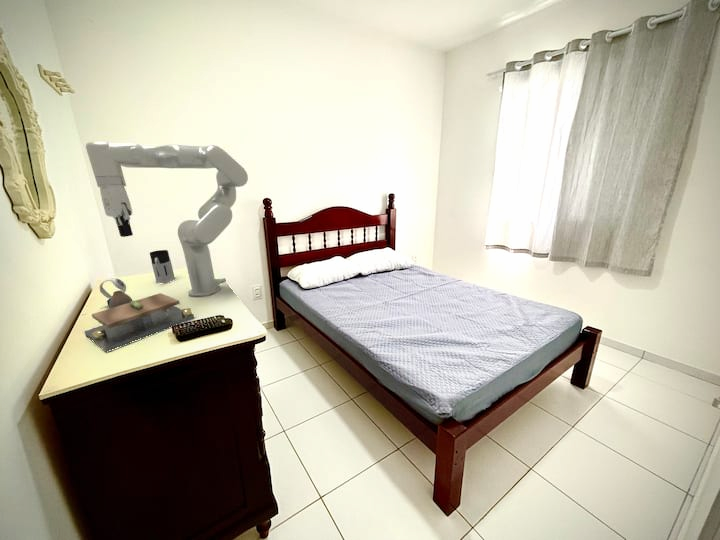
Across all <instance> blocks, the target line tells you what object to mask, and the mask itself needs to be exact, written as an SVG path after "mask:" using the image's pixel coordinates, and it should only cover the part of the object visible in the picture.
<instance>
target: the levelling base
mask: <svg viewBox="0 0 720 540" xmlns="http://www.w3.org/2000/svg"><path fill="white" fill-rule="evenodd" d="M193 319H195V314H193V313H192V309H191V308H190V307H188V308H187V307H186V308H183V309H182V308H179V307H177V306H176V305H175V306H172V307H169V308H166V309H163V310H160V311H158V312H155V313H152V314H149V315H146V316H143V317H140V318H138V319H135V320H132V321H129V322H126V323H123V324H120V325H117V326H115V327H112V328H107V327H106V326H104V325H103V324H101V325H100V326H97V327H94V328H91V329H87V330H84V332H83V333H84V335H85V337H87V336H88V337H89V338H90V340H91V341H92V340H93V341H94V342H95V344H96V343H97V344H98V345H99V346H100V347H99V346H98V345H97V344H96V345H97V346H98V347H99V348H101V347H102V348H103V349H104V350H105V352H106V351H109V350H112V349H115V348H117V347H120V346H123V345H125V344H128V343H130V342H132V341H135V340H138V339H140V338H143V337H146V336H148V337H150V336H149V335H151V334H153V335H155V334H154V333H156V332H158V333H160V332H159V331H161V332H163V331H165V330H164V329H166V330H167V328H168V329H170V328H169V327H171V326H173V325H176V324H179V325H181V324H183V323H182V322H184V323H186V322H189V321H190V320H193ZM188 320H189V321H188ZM180 323H181V324H180ZM176 326H177V325H176ZM173 327H174V326H173ZM171 328H172V327H171ZM162 330H163V331H162ZM156 334H157V333H156ZM151 336H152V335H151ZM88 337H87V338H88ZM89 338H88V339H89ZM146 338H147V337H146ZM143 339H144V338H143ZM93 341H92V342H93ZM138 341H139V340H138ZM94 342H93V343H94ZM128 345H129V344H128ZM125 346H126V345H125ZM123 347H124V346H123ZM102 348H101V349H102ZM120 348H121V347H120ZM103 349H102V350H103ZM104 350H103V351H104ZM115 350H116V349H115Z"/></svg>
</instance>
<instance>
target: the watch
mask: <svg viewBox="0 0 720 540" xmlns="http://www.w3.org/2000/svg"><path fill="white" fill-rule="evenodd" d="M106 282H111V283H112V285H113V286H114V287H116V288H117V289H118V290H119V291H120V290H121V291H122V292H124V293H125V294H126V292H127V284H125V282H124V281H123V280H122V279H119V278H113V277H111V278H107V279H105V280H104V281H102V282H101V283H100V285H99V292H100V293H101V294H102V295H103V297H105V298H106V299H108V300H106V303H107V305H108V309H110V307H109V302H110V299H111V297H112V296H113V295H111V294H110V293H108V291H106V289H105V288H104V287H103V285H104V283H106Z"/></svg>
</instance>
